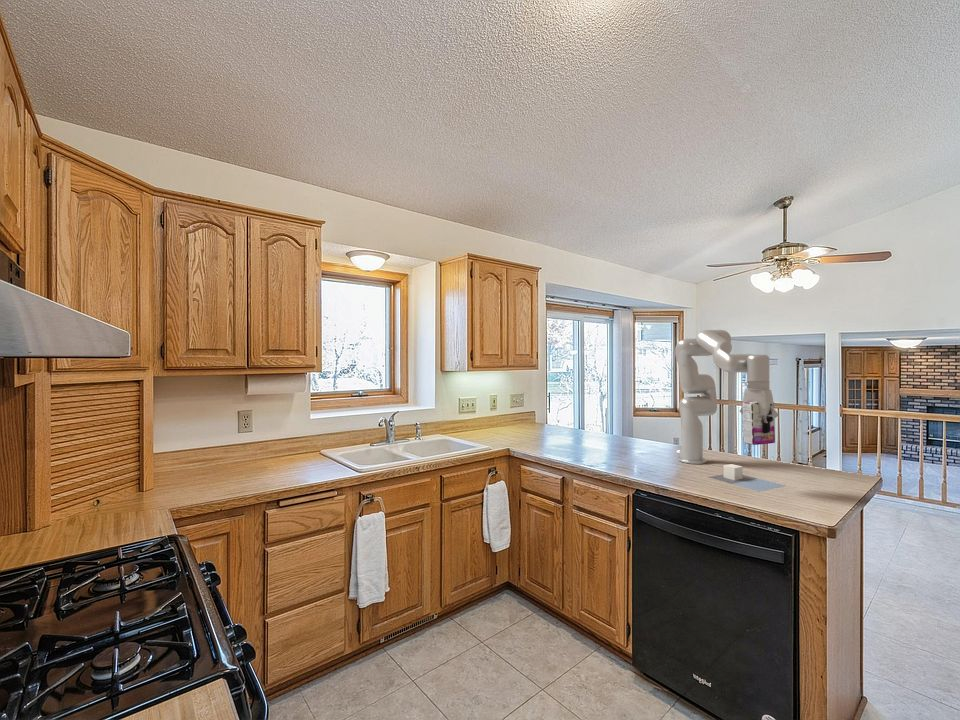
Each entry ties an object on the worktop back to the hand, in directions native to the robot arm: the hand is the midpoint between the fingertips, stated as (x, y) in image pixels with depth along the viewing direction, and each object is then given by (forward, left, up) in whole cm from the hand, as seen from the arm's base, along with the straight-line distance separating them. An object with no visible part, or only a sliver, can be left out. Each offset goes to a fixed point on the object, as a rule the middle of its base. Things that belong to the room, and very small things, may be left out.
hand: (758, 431), depth 178 cm
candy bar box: (0, 0, -5) cm, 5 cm away
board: (-6, 0, -22) cm, 23 cm away
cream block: (-11, 0, -21) cm, 24 cm away
